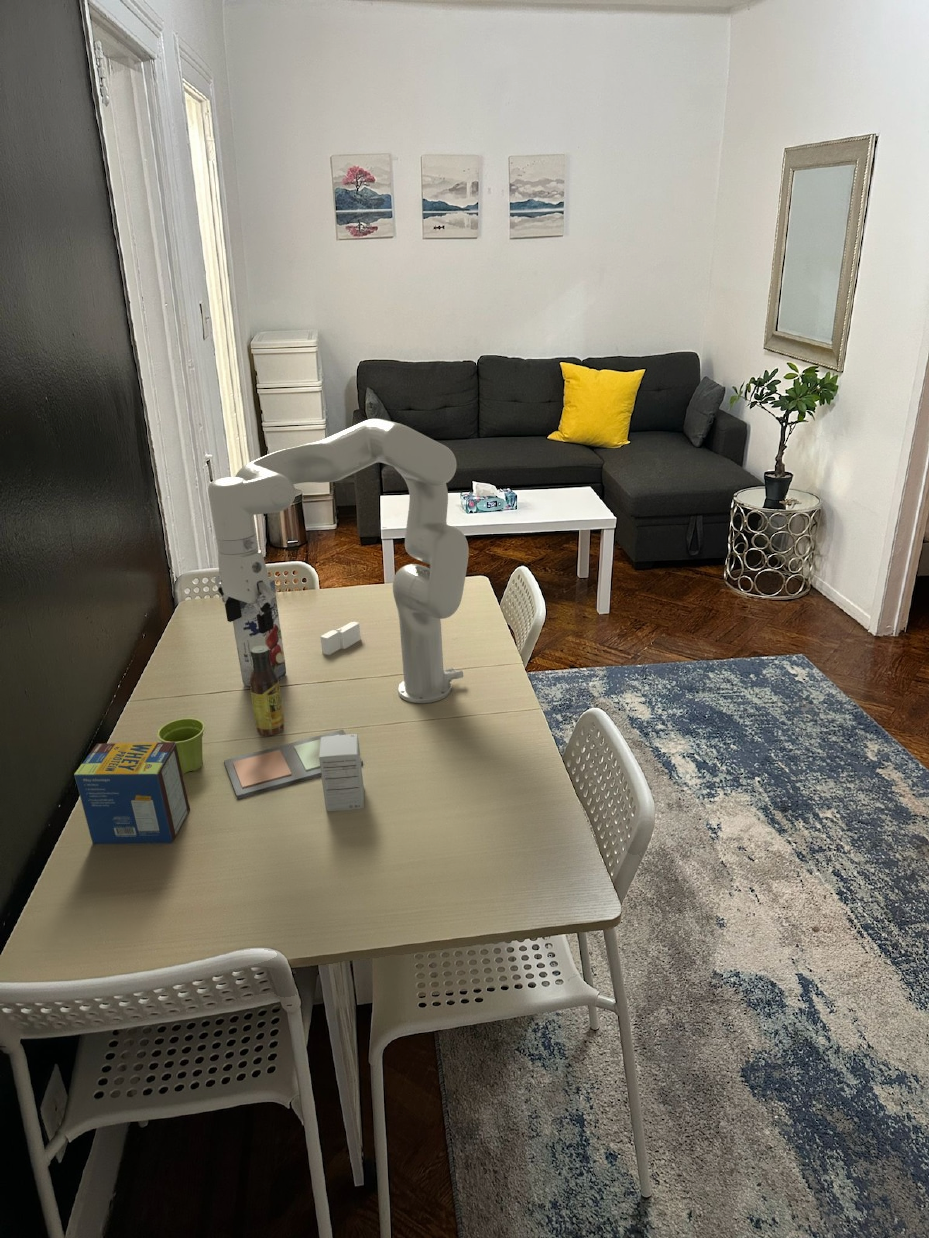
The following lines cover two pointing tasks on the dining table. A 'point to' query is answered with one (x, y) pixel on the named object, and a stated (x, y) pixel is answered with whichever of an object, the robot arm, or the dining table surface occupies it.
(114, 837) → the protein box
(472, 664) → the dining table surface
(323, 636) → the napkin holder
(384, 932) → the dining table surface
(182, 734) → the plant pot
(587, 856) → the dining table surface
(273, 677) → the sauce bottle
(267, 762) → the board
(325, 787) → the supplement box
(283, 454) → the robot arm
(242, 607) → the juice carton
